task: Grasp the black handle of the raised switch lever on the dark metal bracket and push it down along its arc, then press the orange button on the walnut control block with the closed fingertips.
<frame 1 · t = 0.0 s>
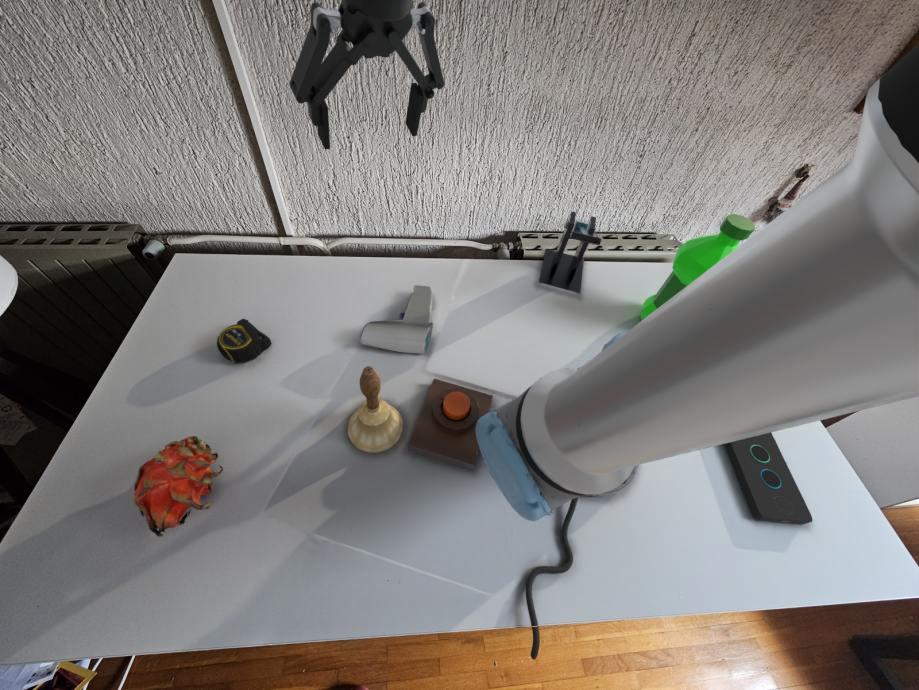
hand: (369, 135, 57), 28 cm above the table, tool tilted 20°, fingers open, 13 cm apart
hand bell: (376, 427, 58), on the table
switch bracket: (560, 273, 85), on the table
switch lever: (582, 232, 71), point 14 cm above the table, hinge at 25.0°
plastic bottle: (656, 328, 78), on the table
smart home device: (750, 457, 62), on the table
control block: (451, 425, 60), on the table
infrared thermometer: (400, 323, 72), on the table
dragon fruit: (192, 492, 50), on the table
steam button: (456, 405, 57), point 4 cm above the table, slide at 0.1 cm
tape measure: (249, 347, 65), on the table
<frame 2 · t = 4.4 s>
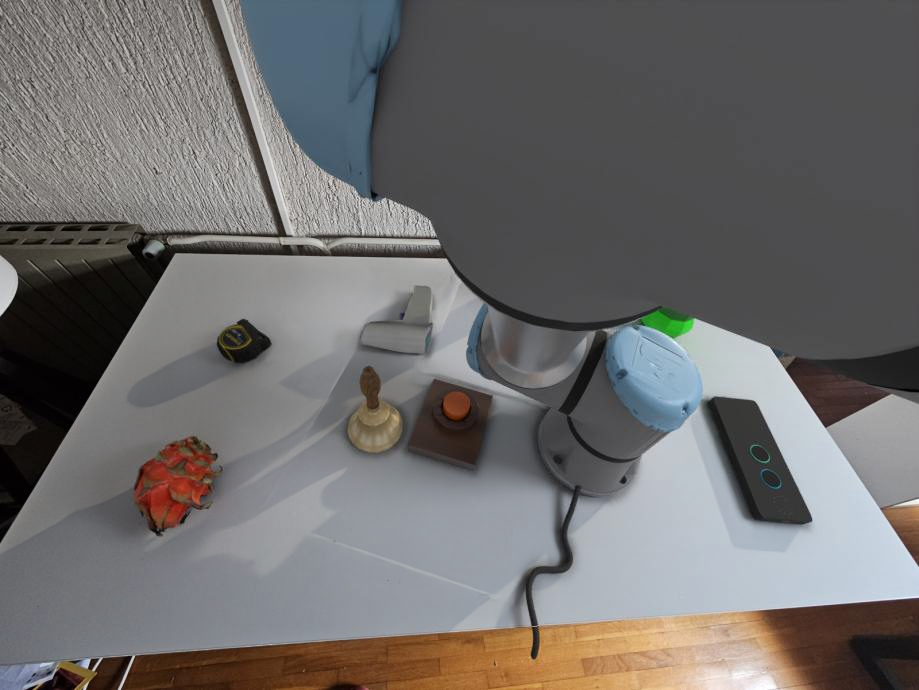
hand: (575, 262, 69), 12 cm above the table, tool pointing down, fingers closed on switch lever, 5 cm apart
switch lever: (582, 232, 71), point 14 cm above the table, hinge at 25.0°, touching gripper
everything else where it was.
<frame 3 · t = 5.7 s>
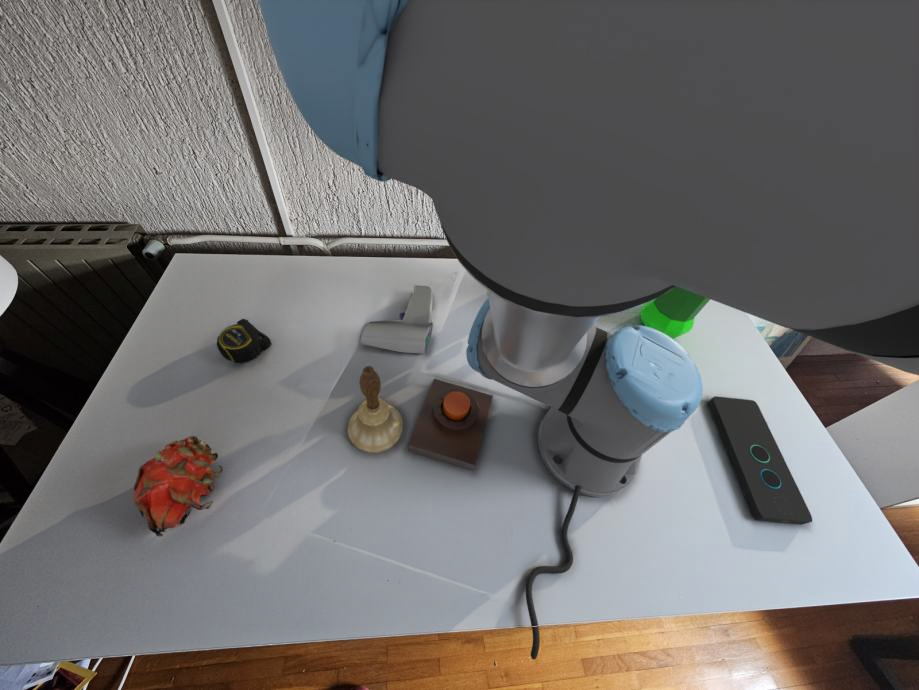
hand: (565, 285, 72), 7 cm above the table, tool pointing down, fingers closed on switch lever, 5 cm apart
switch lever: (578, 243, 72), point 12 cm above the table, hinge at 1.8°, touching gripper
everything else where it was.
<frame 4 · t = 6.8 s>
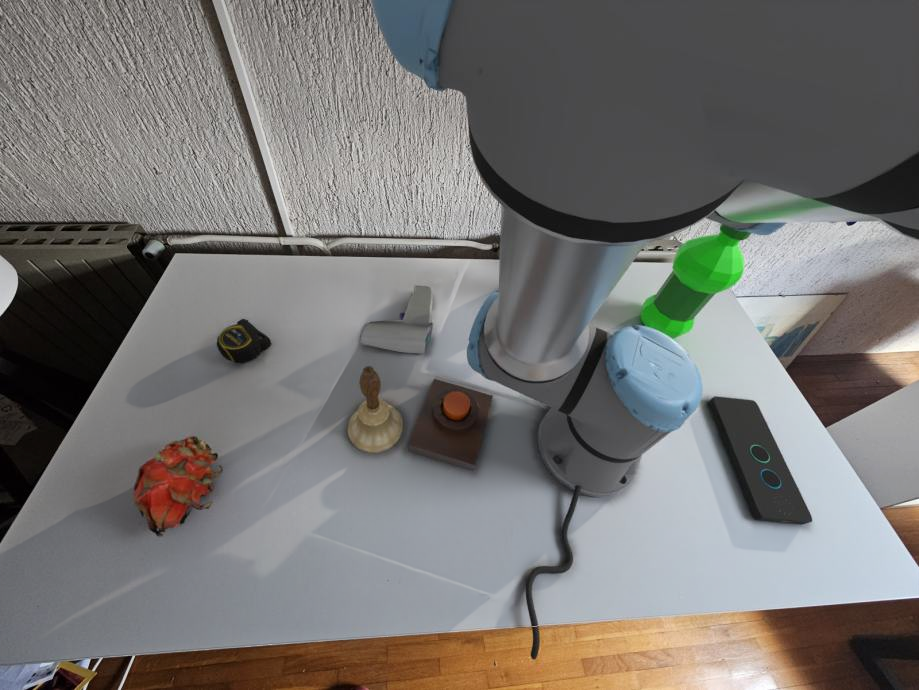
hand: (559, 298, 76), 3 cm above the table, tool pointing down, fingers closed on switch lever, 5 cm apart
switch lever: (574, 250, 73), point 10 cm above the table, hinge at -16.6°, touching gripper
everything else where it was.
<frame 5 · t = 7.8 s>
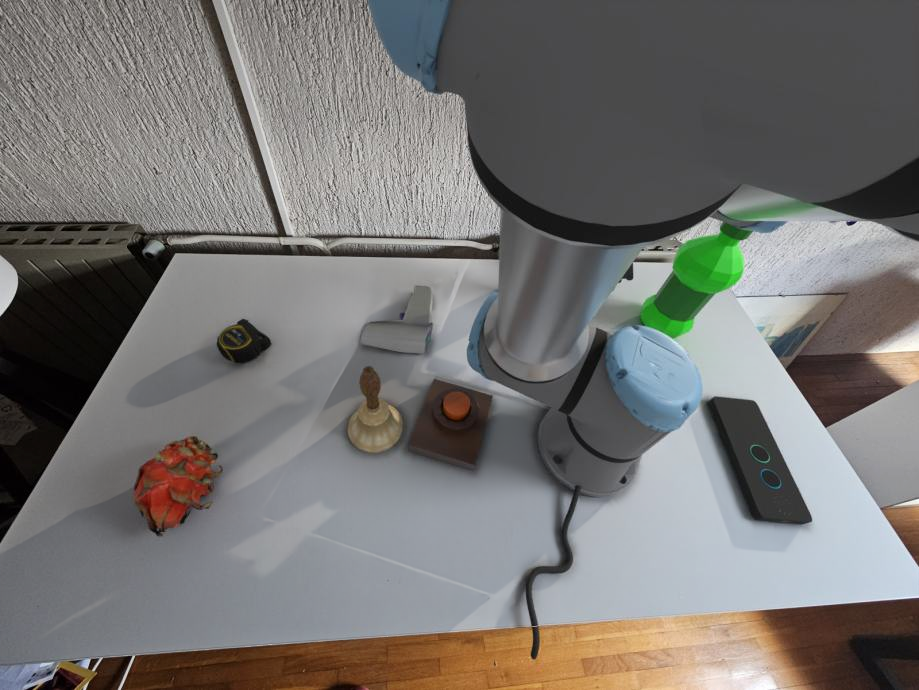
hand: (562, 291, 74), 5 cm above the table, tool pointing down, fingers open, 13 cm apart
switch lever: (574, 250, 73), point 10 cm above the table, hinge at -16.6°
everything else where it was.
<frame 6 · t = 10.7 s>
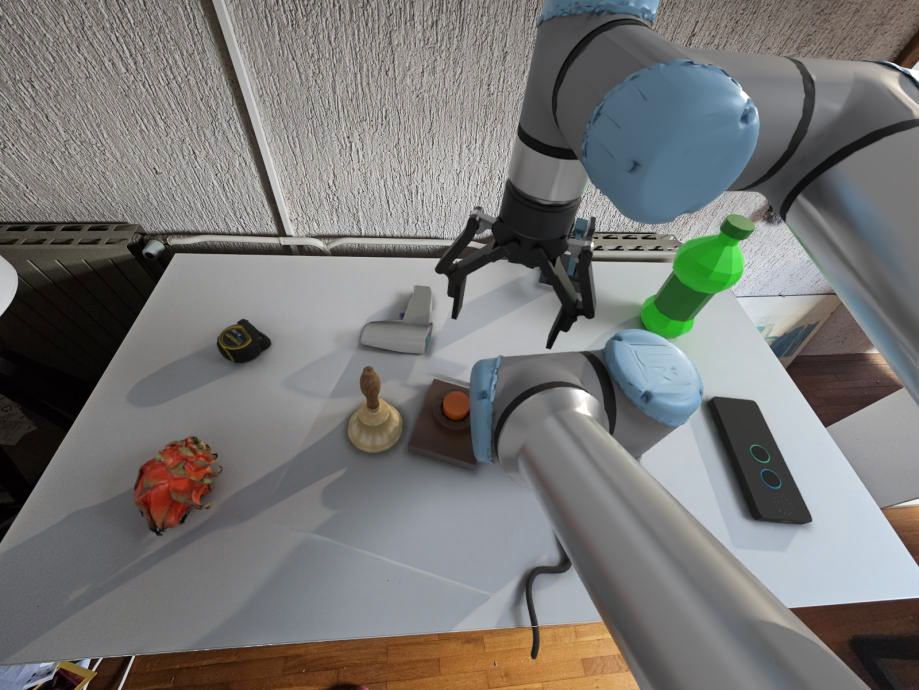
hand: (502, 327, 53), 15 cm above the table, tool pointing down, fingers open, 13 cm apart
nothing on the table moved.
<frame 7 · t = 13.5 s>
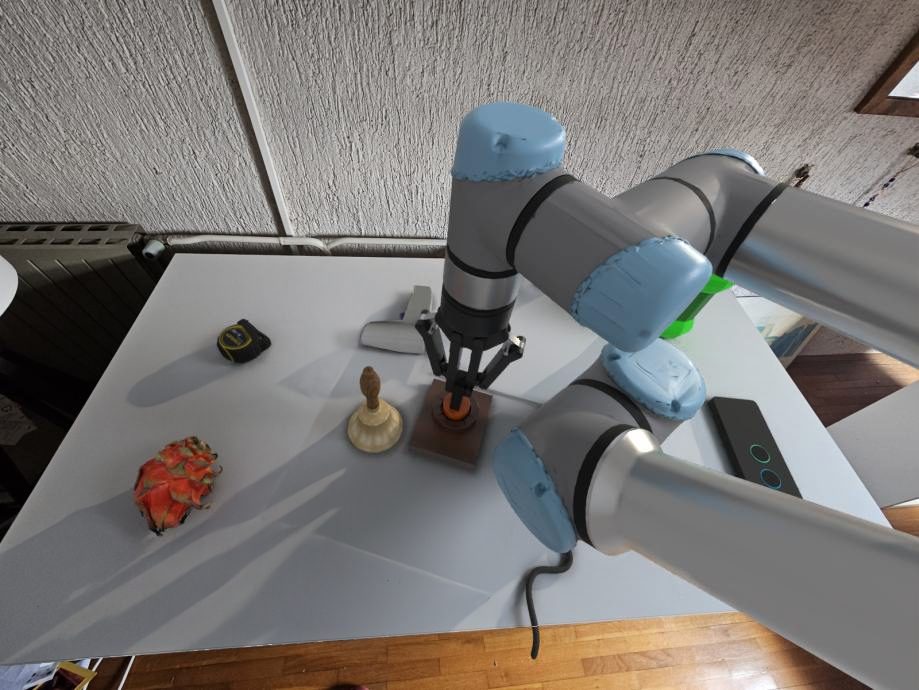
hand: (456, 402, 56), 6 cm above the table, tool pointing down, fingers closed
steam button: (456, 406, 57), point 4 cm above the table, slide at 0.0 cm, touching gripper
everything else where it was.
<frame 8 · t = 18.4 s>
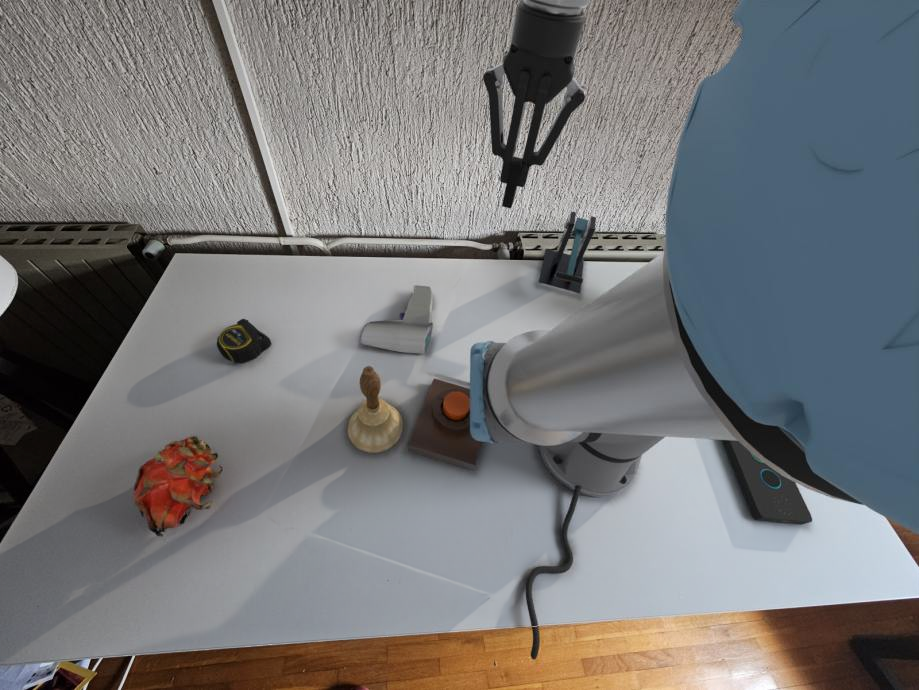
hand: (508, 202, 59), 22 cm above the table, tool pointing down, fingers closed
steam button: (456, 405, 57), point 4 cm above the table, slide at 0.1 cm
everything else where it was.
at the end: switch lever at -17° (first picture: +25°); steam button pushed in 1.0 cm at the most during the clip, back to where it started at the end; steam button slide at 0.1 cm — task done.
